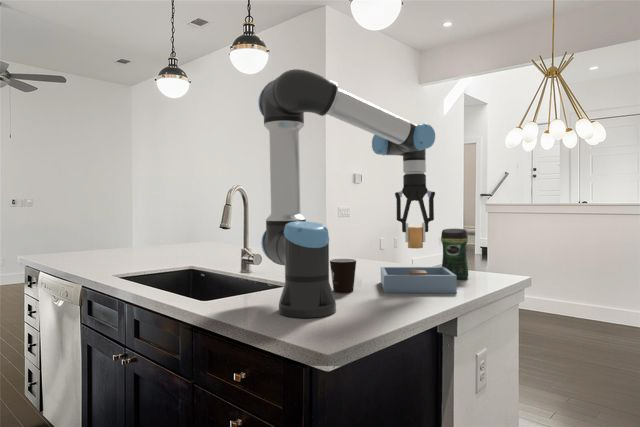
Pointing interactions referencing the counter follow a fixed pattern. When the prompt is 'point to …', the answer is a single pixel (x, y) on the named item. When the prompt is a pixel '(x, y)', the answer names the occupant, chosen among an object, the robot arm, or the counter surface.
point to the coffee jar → (455, 251)
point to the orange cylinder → (415, 237)
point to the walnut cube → (417, 272)
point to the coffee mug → (343, 275)
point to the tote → (418, 280)
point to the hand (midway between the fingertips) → (415, 241)
